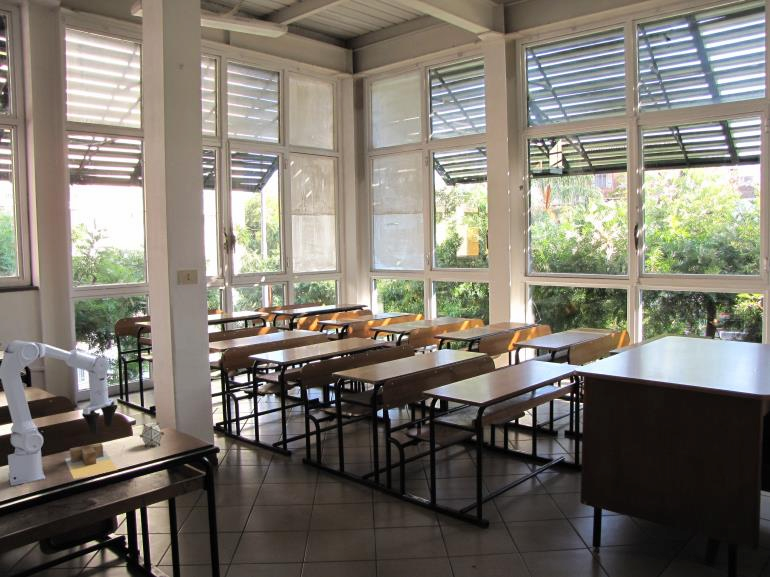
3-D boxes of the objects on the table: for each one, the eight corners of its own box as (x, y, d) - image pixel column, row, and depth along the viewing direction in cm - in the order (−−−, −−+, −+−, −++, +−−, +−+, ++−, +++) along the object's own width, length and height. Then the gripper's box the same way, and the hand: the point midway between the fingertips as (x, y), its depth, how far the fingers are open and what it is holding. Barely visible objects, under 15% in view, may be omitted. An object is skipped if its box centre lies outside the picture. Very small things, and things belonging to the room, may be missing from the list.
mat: (73, 479, 206) (73, 478, 206) (64, 459, 226) (64, 458, 226) (117, 470, 213) (117, 469, 213) (105, 451, 233) (105, 450, 233)
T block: (74, 468, 216) (73, 456, 216) (70, 460, 225) (69, 448, 224) (106, 461, 221) (105, 450, 221) (101, 453, 230) (101, 442, 230)
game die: (155, 456, 237) (153, 439, 230) (135, 448, 238) (132, 431, 232) (169, 438, 244) (168, 421, 237) (149, 430, 245) (148, 413, 239)
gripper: (94, 395, 218) (97, 435, 219) (122, 386, 232) (124, 423, 233) (76, 395, 220) (79, 435, 221) (104, 385, 234) (107, 423, 235)
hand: (101, 429), depth 227 cm, fingers open, 7 cm apart
